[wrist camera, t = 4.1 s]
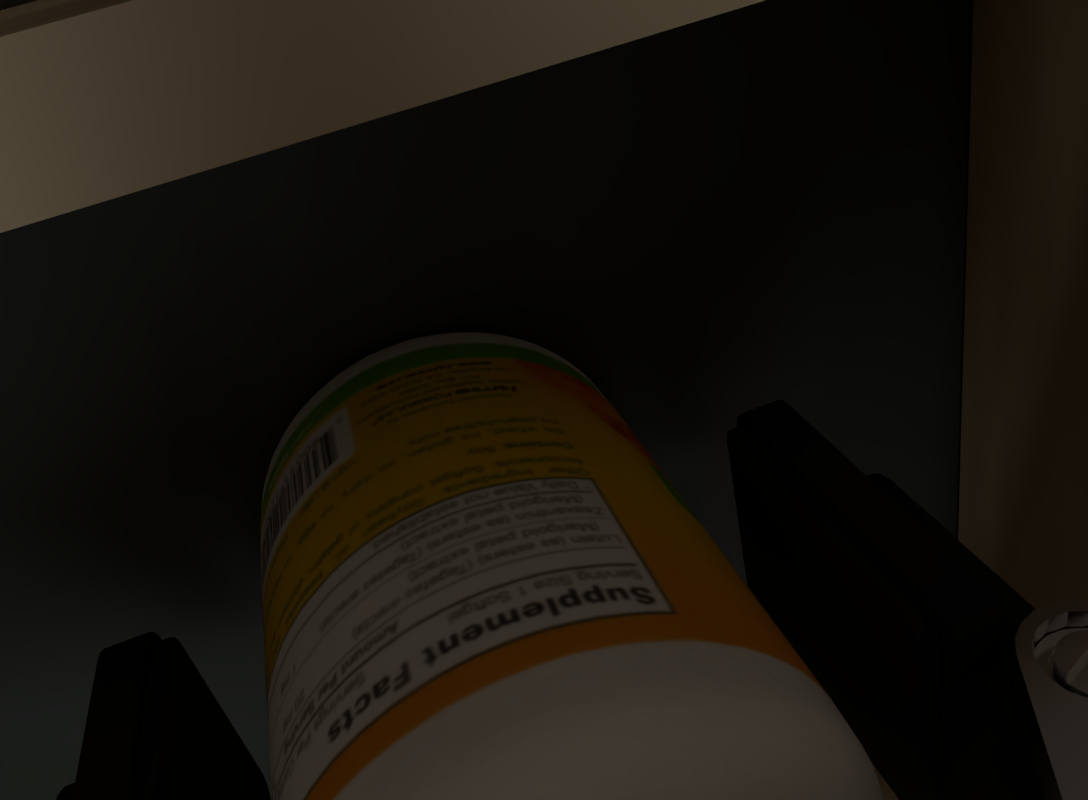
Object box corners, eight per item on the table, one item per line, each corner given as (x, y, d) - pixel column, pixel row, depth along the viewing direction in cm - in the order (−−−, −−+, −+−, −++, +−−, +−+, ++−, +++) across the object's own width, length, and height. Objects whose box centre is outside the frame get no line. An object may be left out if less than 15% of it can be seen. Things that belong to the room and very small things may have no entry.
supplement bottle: (633, 569, 15) (1078, 1320, 7) (318, 670, 14) (424, 1664, 6) (597, 277, 13) (1251, 965, 4) (205, 379, 12) (129, 1481, 4)
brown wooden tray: (1067, -281, 11) (1437, -362, 8) (1006, 601, 19) (1173, 753, 15) (-817, 232, 8) (-1529, 460, 5) (31, 1006, 16) (-24, 1297, 13)
